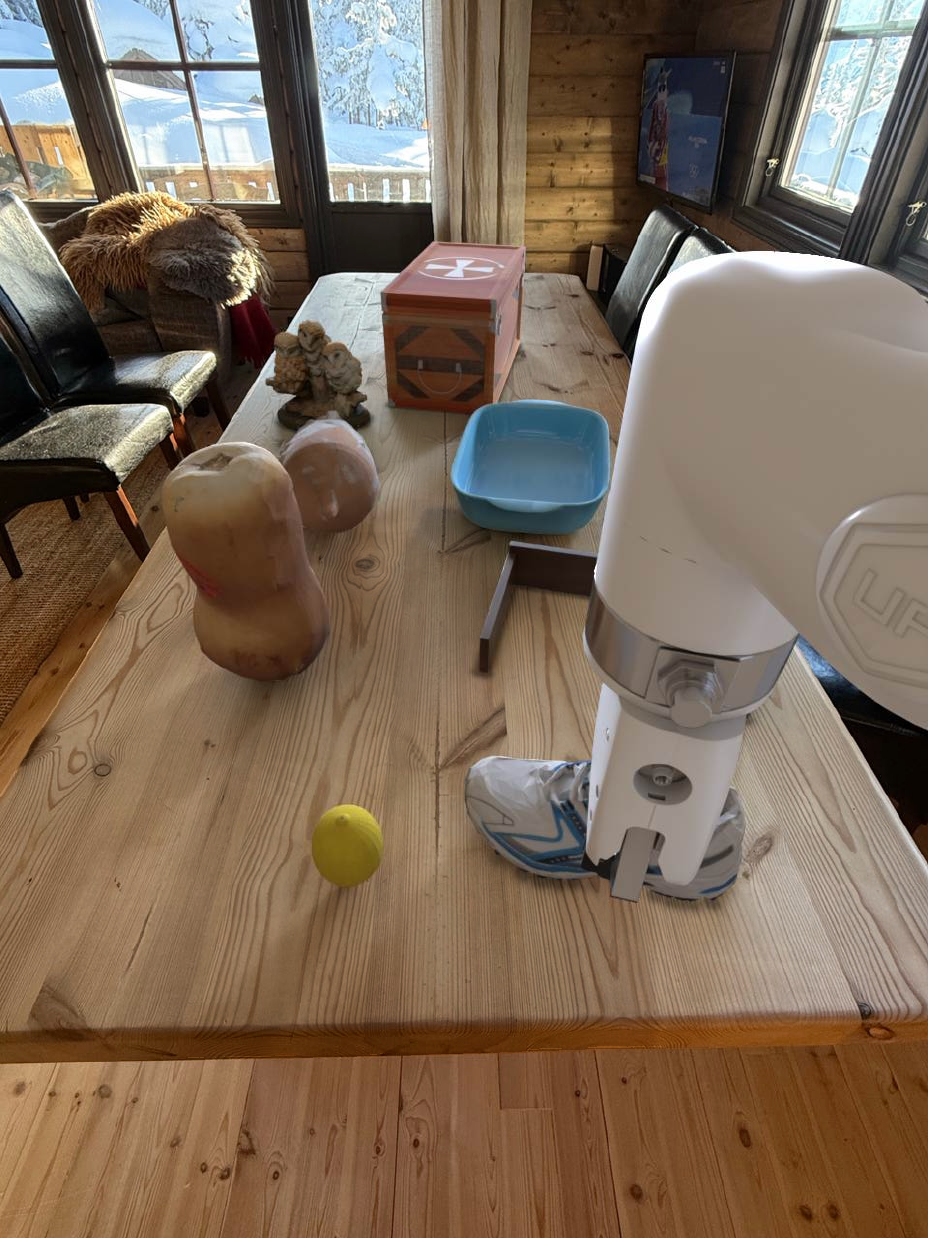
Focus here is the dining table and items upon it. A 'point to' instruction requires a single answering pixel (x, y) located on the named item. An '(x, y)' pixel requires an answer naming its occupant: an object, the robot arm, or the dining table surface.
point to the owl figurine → (316, 377)
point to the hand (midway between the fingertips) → (609, 862)
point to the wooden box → (453, 326)
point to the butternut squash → (246, 561)
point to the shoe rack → (535, 583)
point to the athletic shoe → (578, 824)
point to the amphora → (331, 474)
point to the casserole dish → (532, 467)
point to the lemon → (347, 845)
